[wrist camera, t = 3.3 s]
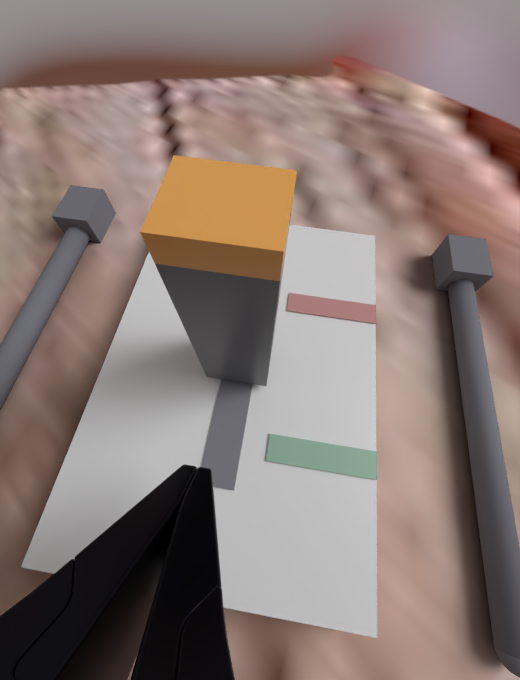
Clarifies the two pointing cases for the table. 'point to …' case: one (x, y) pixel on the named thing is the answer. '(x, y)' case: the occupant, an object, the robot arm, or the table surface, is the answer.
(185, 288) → the breaker lever
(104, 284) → the table surface
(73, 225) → the pair of grey rods
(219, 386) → the breaker panel
